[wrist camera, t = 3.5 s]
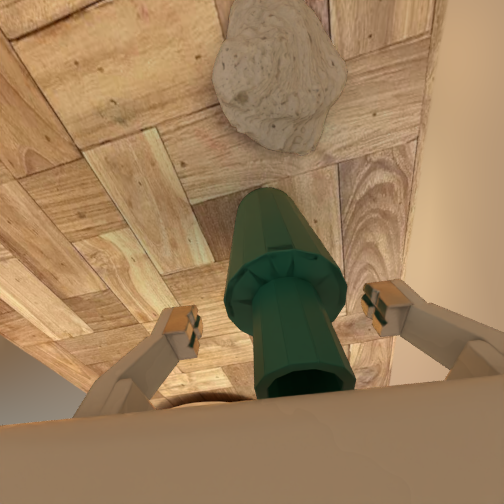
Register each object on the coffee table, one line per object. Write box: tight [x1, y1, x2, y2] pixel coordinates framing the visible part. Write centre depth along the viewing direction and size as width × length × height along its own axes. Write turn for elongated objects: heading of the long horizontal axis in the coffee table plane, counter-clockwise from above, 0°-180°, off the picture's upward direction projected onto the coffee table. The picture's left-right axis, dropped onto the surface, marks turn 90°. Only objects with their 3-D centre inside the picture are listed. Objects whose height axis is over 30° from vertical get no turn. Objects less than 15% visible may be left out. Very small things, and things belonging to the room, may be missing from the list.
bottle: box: [224, 188, 356, 399], centre depth 13 cm, size 6×6×16 cm
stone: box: [212, 0, 348, 156], centre depth 14 cm, size 10×5×10 cm
